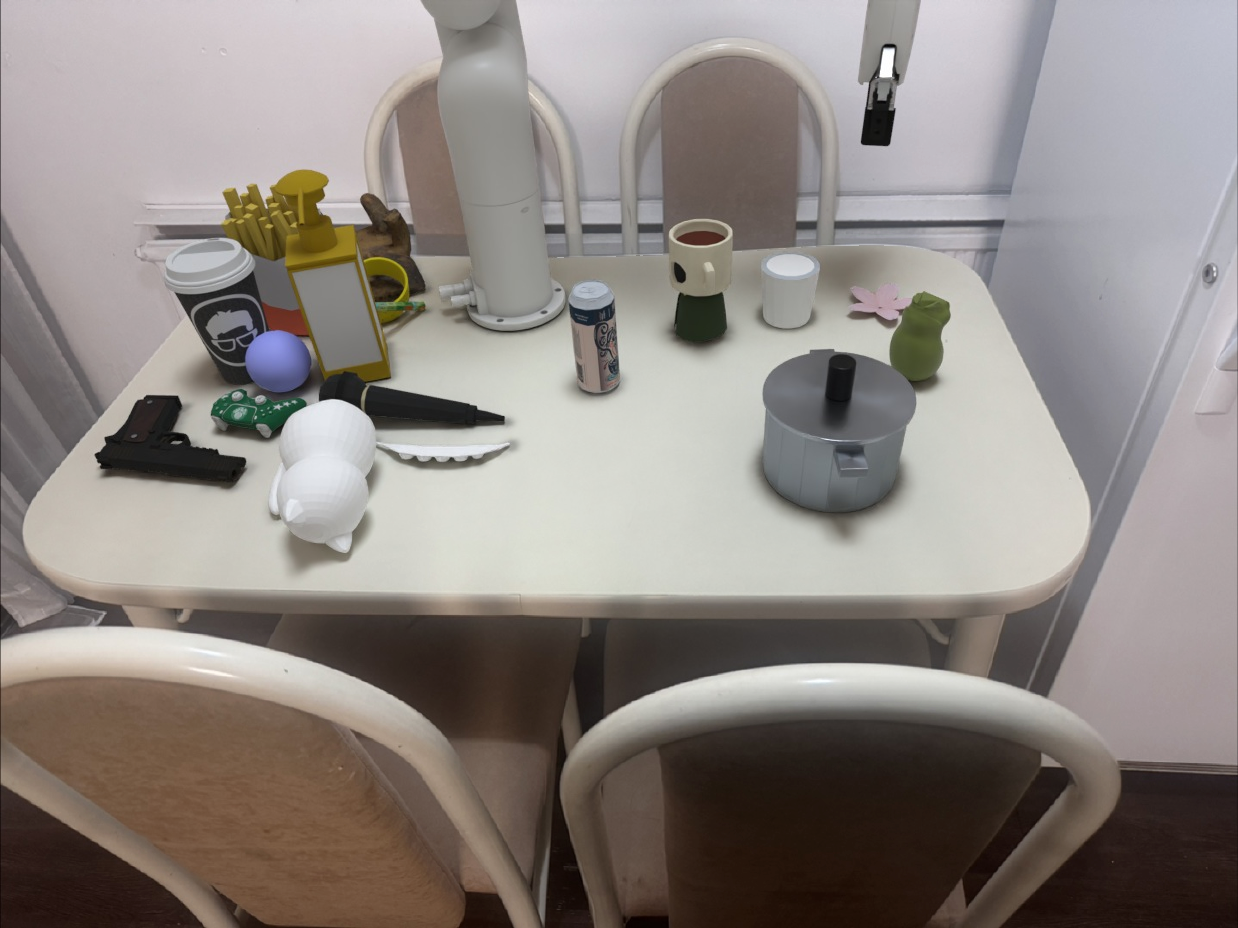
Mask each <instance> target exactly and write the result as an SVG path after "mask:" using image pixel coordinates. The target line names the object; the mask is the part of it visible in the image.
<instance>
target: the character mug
mask: <svg viewBox="0 0 1238 928" xmlns="http://www.w3.org/2000/svg"><path fill="white" fill-rule="evenodd" d="M733 243H734V237H733V228H732V227H730V225H729V224H728V223H725V222H723V221H720V220H717V219H711V218H694V219H689V220H684V221H682V222H679V223H677V224H675V225H674V226H673V227H672V228H671V229H669V231H668V271H669V284H670V286H671V288H672V289H673V290H674V291H676V292H677V293H678V294H677V300H676V306H675V314H674V322H673V323H674V324H673V330H675V335H676V336H677V337H678V338H679V339H681V340H682V341H685V342H689V343H694V344H695V343H701V342H708V341H712V340H715V339H718V338H720V337H722V336H723V335H725V334H726V332H727V330H728V321H727V311H726V303H725V295H724V293H723V292H724V291H726V290H727V289H728V288H729V287H730V286H731V285H732V280H733V279H732V277H733V250H734V249H733V248H734V247H733Z"/></svg>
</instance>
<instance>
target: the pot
mask: <svg viewBox="0 0 1238 928" xmlns="http://www.w3.org/2000/svg"><path fill="white" fill-rule="evenodd" d="M816 352H836V351H835V349H834V348H821V349H820V348H819V349H809V353H816ZM907 427H908V425H907V426H906V427H905V428H904V429H903V430H901V431H900V432H898V433H897V434H895V435H893V436H891V437H889V438H887V439H884V440H881V441H878V442H874V443H869V444H863V445H832V444H825V443H820V442H816V441H812V440H808V439H806V438H803V437H800V436H798V435H796V434H794V433H792V432H790V431H788V430H786V429H785V428H783V427H782V426H781V425H779V424H778V423H777V422H776V421H775V420H774V419H773V418H772V417H771V416H770V414H769V413H768V412H767V410H766V409H765V415H764V429H763V446H762V466H763V467H762V469H763V473H764V476H765V478H766V480H767V482H768V484H769V485H770V486H771V487H772V488H773V490H774V491H775V492H776V493H778V495H780V496H781V497H783V498H784V499H785V500H787V501H789V502H791V503H792V504H795V505H797V506H799V507H802V508H805V509H807V510H808V509H809V510H812V511H817V512H822V513H823V512H824V513H840V514H841V513H850V512H857V511H861V510H864V509H867V508H869V507H871V506H874V505H875V504H877V503H879V502H880V501H882V500H883V499H884V498H885V497H886V496H887V495H888V494H889V493H890V492H891V490H892V489H893V486H894V484H895V482H896V481H895V480H896V478H897V473H898V471H899V465H900V461H901V460H900V459H901V456H902V452H903V451H902V450H903V446H904V441H905V436H906V431H907Z"/></svg>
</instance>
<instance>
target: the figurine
mask: <svg viewBox="0 0 1238 928" xmlns="http://www.w3.org/2000/svg"><path fill="white" fill-rule="evenodd" d="M359 202H360V204H361V206H362V208H363V210H364V211H365V213H366V215H367V216H368V218H369V220H370V222H371V225H369V226H366V227H364V228H361V229H358V230H355V231H356V235H357V239H358V242H359V246H360V249H361V253H362V257H363V260H366V259H369V258H373V257H382V258H387V259H390V260H393V261H395V262H396V263H398V264H399V265H400V266H401V267H402V268H403V269H404V270H405V272H406V274H407V278H408V285H409V296H412V295H415V294H418V293H420V292H423V291H424V290H425V289H426V281H425V279H424V277H423V275H422V273H421V271H420V270H419V268H418V265H417V264H416V262H415V260H414V259H413V258H412V257H411V252H412V241H411V237H412V236H411V233H410V229H409V226H408V224H407V221H406V220H405V218H404V217H403V215H402V213H401V212H400V211H399V210H398V209H397V208H393V209H388V208H387V207H386V205H385V204H384V202H383V201H382V200H381V199H380V198H379V197H378V196H377V195H375V194H374V193H369V192H365V193H363V194H362V195H361V196H360V198H359ZM321 215H324V214H323V213H322V212H321ZM368 278H369V282H370V285H371V289H372V292H373V296H374V300H375V302H393V301H395V300H397V299H398V298H399V297H400V295H401V294H402V292H403V290H404V286H403V285H402V284H401V283H400V282H399V281H398V280H396V279H394V278H392V277H390V276H386V275H373V276H370V277H368Z"/></svg>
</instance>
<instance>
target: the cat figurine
mask: <svg viewBox="0 0 1238 928" xmlns="http://www.w3.org/2000/svg"><path fill="white" fill-rule="evenodd" d="M376 442H377V432H376V427H375V425H374V423H373V420H372V419H371V417H370V416H367V415H366V414H365V413H364V412H363V411H361V410H360V409H359V408H357V407H356V406H354V405H352V404H350V403H348V402H345V401H342V400H336V399H330V400H324V401H320V402H319V401H317V402H315V403H311V404H309V405H307V406H306V407H304V408H302V409H300V410H299V411H297V412H295V413H293V414H292V415H291V416H290V417H289V418H288V420H287V421H286V423H284V424H283V427H282V430H281V433H280V438H279V442H278V453H279V458H280V460H281V461H280V463H279V465H278V467H277V469H276V471H275V474H274V477H273V478H272V479H273V480H272V482H271V486H270V489H269V493H268V502H267V503H268V509H269V510H270V512H271V513H272V514H273V515H276V516H278V515H279V516H280V518H281V521H282V522H283V524H284V526H285V527H286V528H287V529H288V530H289V532H291V533H292V535H294V536H295V537H297V538H299V539H301V540H304V541H306V542H308V543H312V544H325V545H326V546H327V547H329V548H331V549H332V550H334V551H336V552H339V553H342V554H343V553H344V554H347V553H348V552H350V549H351V546H352V542H353V531H355V529H356V528H357V527H358V525H359V524H360V523H361V520H362V518H363V517H364V515H365V512H366V509H367V506H368V500H369V496H370V495H369V492H370V491H369V485H368V482H367V478H366V477H367V476H368V475H369V473H370V472H371V470H372V468H373V467H372V466H373V464H374V462H375V458H376V452H377V451H376V450H377V444H376Z"/></svg>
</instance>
